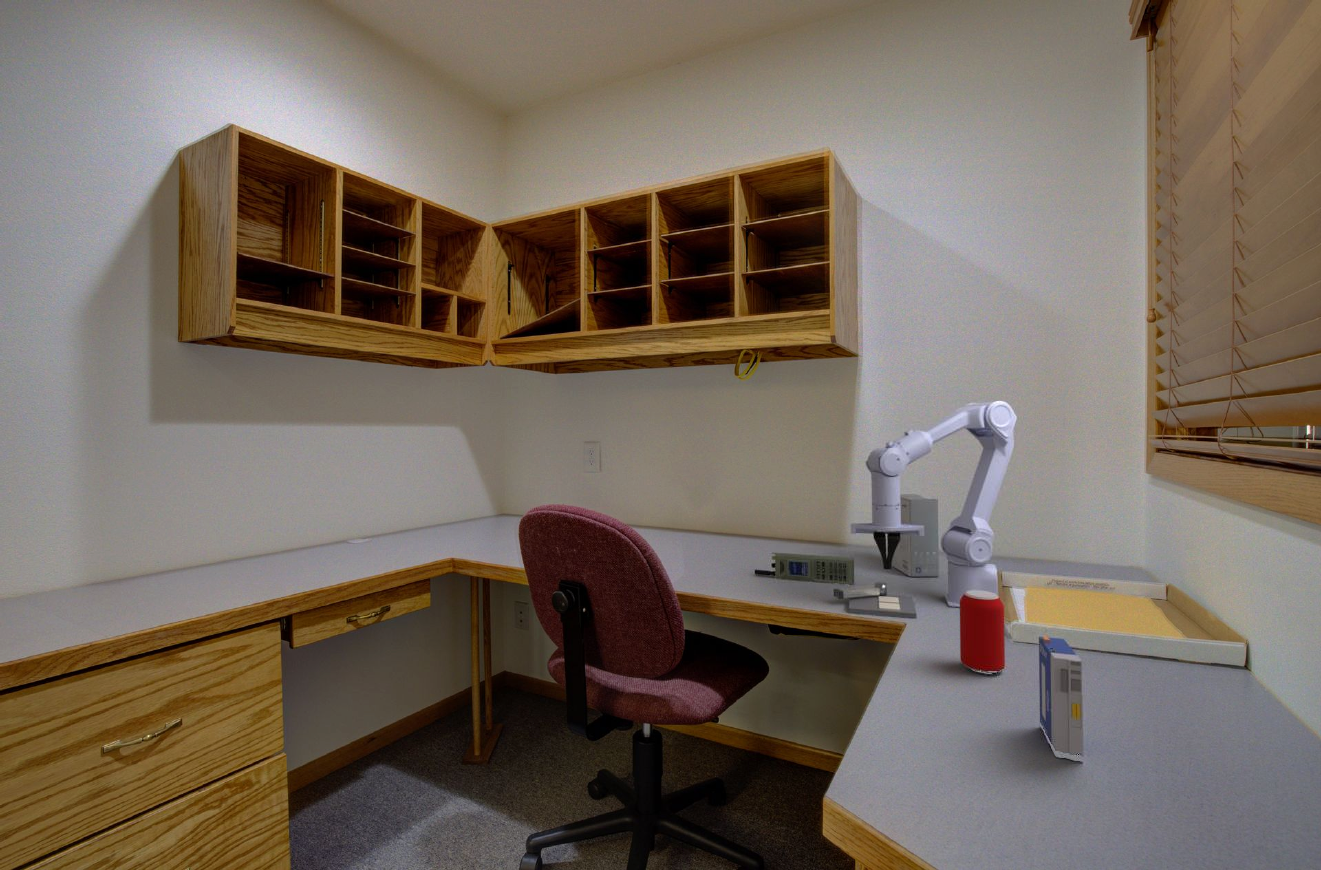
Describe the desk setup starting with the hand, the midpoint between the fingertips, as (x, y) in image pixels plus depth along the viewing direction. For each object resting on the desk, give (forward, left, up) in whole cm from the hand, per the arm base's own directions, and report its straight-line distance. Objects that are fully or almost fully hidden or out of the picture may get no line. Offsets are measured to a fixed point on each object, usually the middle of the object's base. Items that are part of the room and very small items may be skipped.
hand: (887, 568), depth 127 cm
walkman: (-18, +52, -9) cm, 56 cm away
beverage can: (-13, +30, -9) cm, 34 cm away
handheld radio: (+20, -20, -9) cm, 29 cm away
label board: (+1, -1, -9) cm, 9 cm away
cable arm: (+5, -3, -7) cm, 9 cm away
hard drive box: (-7, -37, -9) cm, 39 cm away
